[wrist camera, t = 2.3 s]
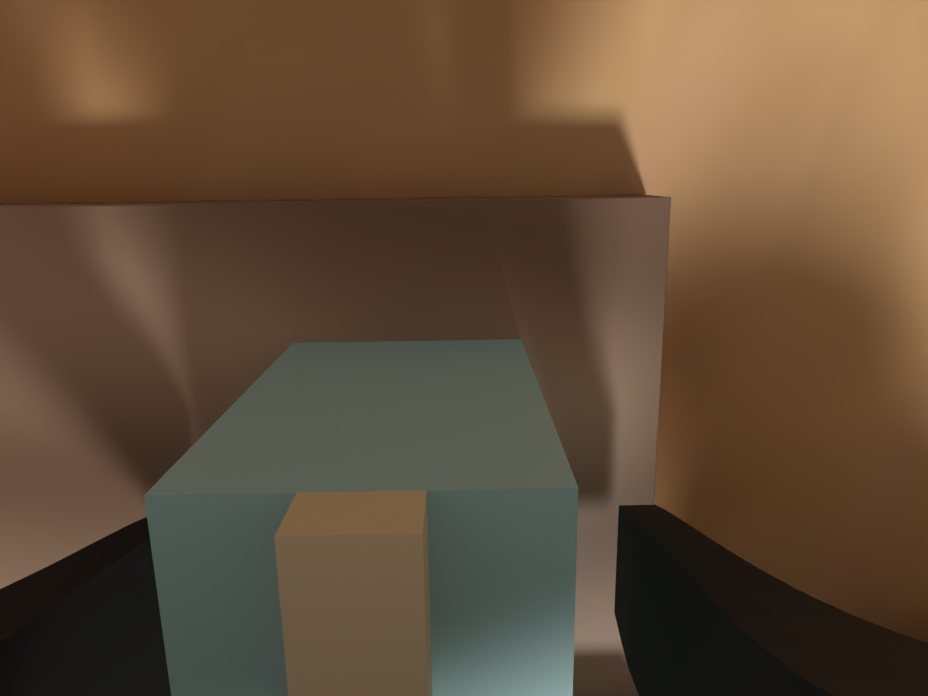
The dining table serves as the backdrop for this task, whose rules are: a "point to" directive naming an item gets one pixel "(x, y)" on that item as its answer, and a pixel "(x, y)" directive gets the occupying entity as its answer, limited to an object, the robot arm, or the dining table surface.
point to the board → (311, 321)
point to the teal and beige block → (372, 530)
